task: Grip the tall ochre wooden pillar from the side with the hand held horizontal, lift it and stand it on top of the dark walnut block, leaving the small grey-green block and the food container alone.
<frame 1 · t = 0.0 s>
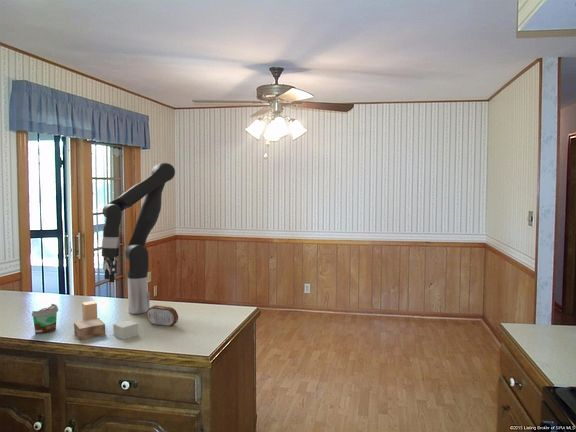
hand: (109, 280, 214), 17 cm above the table, tool pointing down, fingers open, 8 cm apart
grey block: (126, 335, 189), on the table
walnut block: (89, 334, 190), on the table
tin: (162, 325, 202), on the table
ochre pillar: (90, 324, 203), on the table
food container: (49, 331, 195), on the table
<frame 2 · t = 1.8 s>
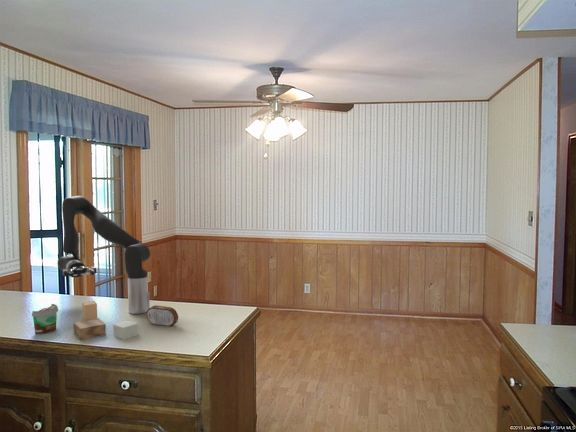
hand: (82, 274, 210), 21 cm above the table, tool horizontal, fingers open, 8 cm apart
nothing on the table moved.
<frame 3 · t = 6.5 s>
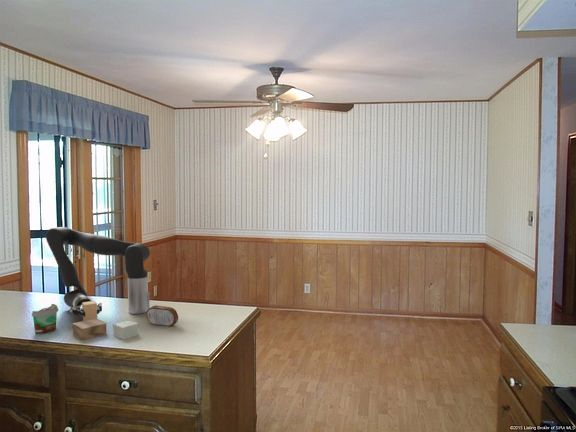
hand: (91, 312, 200), 6 cm above the table, tool horizontal, fingers closed on ochre pillar, 5 cm apart
ochre pillar: (90, 324, 203), on the table, touching gripper
everything else where it was.
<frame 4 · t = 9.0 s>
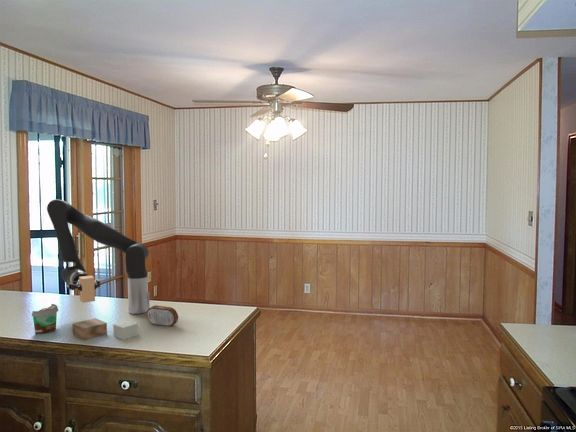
hand: (88, 287, 189), 20 cm above the table, tool horizontal, fingers closed on ochre pillar, 5 cm apart
ochre pillar: (87, 300, 191), point 14 cm above the table, touching gripper
everything else where it was.
when the fingers open (12 cm above the table, at t = 11.6 s): ochre pillar drops 1 cm, resting on walnut block.
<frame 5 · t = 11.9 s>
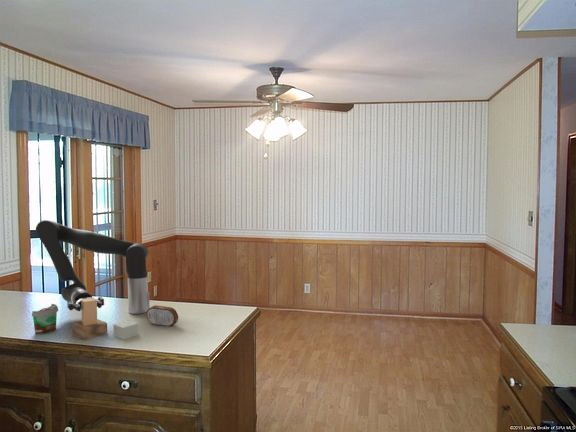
hand: (90, 307, 188), 12 cm above the table, tool horizontal, fingers open, 7 cm apart
walnut block: (90, 335, 190), on the table, touching ochre pillar
ochre pillar: (89, 323, 190), point 5 cm above the table, touching walnut block
everything else where it was.
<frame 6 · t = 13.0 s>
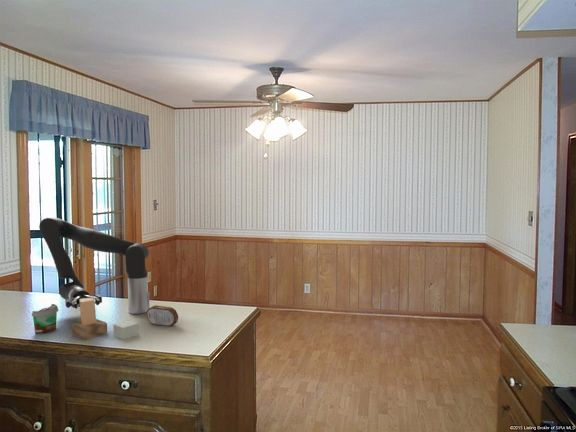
hand: (87, 304, 192), 12 cm above the table, tool horizontal, fingers open, 8 cm apart
nothing on the table moved.
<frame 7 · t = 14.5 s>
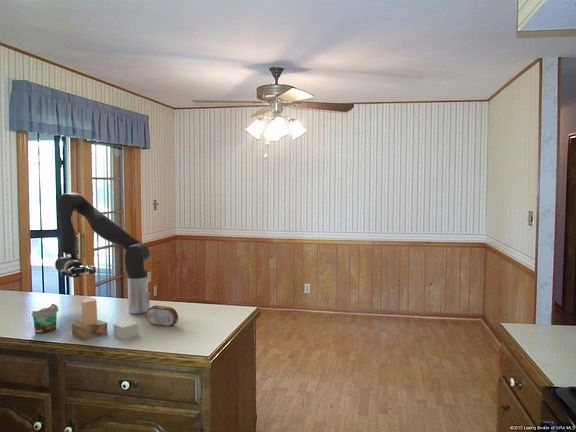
hand: (81, 273, 201), 23 cm above the table, tool horizontal, fingers open, 8 cm apart
walnut block: (90, 335, 190), on the table
ochre pillar: (89, 323, 190), point 5 cm above the table
everything else where it was.
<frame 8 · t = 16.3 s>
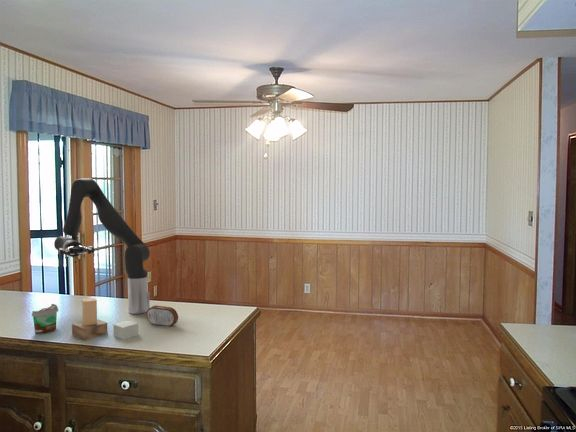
hand: (79, 252, 204), 32 cm above the table, tool horizontal, fingers open, 8 cm apart
nothing on the table moved.
at the end: ochre pillar inside the target area on the walnut block (0.1 cm from its centre), point 5.0 cm above the walnut block's base; ochre pillar tilted 0°; ochre pillar touching walnut block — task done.
